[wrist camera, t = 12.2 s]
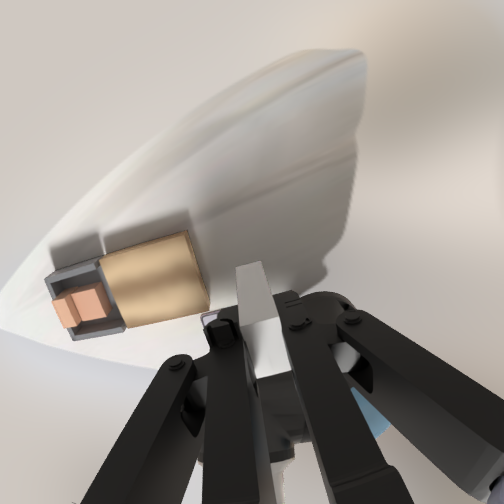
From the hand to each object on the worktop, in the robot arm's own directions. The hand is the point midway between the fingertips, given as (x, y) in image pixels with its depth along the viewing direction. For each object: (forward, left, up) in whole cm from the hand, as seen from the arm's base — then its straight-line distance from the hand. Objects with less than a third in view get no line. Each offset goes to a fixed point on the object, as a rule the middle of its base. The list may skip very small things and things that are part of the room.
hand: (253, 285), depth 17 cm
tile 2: (-7, +27, -26) cm, 38 cm away
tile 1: (-6, +29, -23) cm, 38 cm away
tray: (-6, +28, -26) cm, 39 cm away
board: (-6, +15, -26) cm, 31 cm away
